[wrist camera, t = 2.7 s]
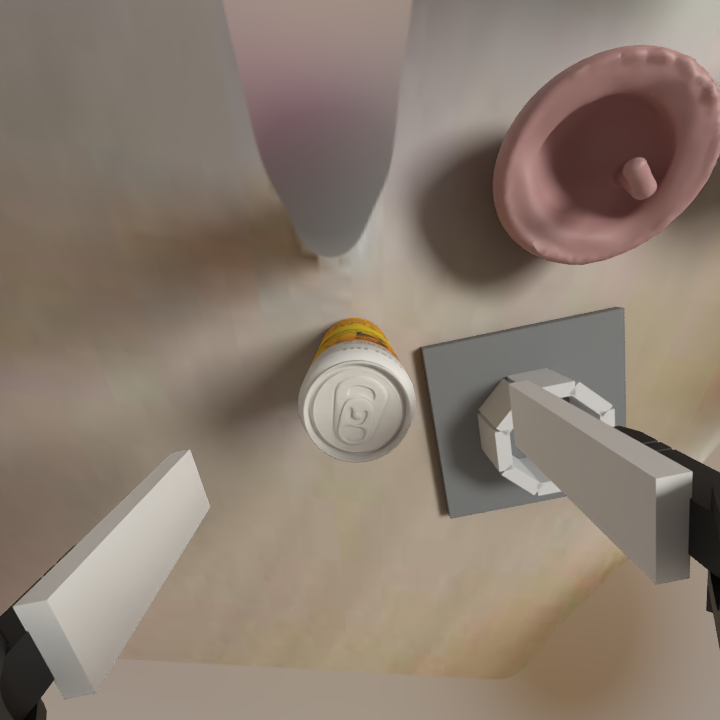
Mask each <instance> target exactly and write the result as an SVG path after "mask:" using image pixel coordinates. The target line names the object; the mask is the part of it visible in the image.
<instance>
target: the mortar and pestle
mask: <svg viewBox="0 0 720 720" xmlns="http://www.w3.org/2000/svg"><path fill="white" fill-rule="evenodd" d="M719 154H720V94H719V91H718V89H717V84H716V83H715V82H714V81H713V79H712V77H711V76H710V74H709V73H708V72H707V71H706V70H705V69H704V68H703V67H701V66H700V65H699V64H698V63H697V61H696V59H694V58H692V57H690V56H688V55H685V54H682V53H679V52H677V51H674V50H671V49H668V48H664V47H658V46H648V45H634V46H625V47H619V48H615V49H611V50H607V51H604V52H600V53H598V54H595V55H593V56H591V57H588V58H586V59H584V60H581V61H580V62H578V63H576V64H574V65H572V66H571V67H569V68H567V69H566V70H564V71H562V72H561V73H559V74H558V75H557V76H555V77H554V78H553V79H551V80H550V81H549V82H548V83H546V84H545V85H544V86H543V87H542V88H541V89H540V90H539V91H538V92H537V93H536V94H535V95H534V96H533V97H532V98H531V99H530V100H529V101H528V102H527V103H526V105H525V106H524V107H523V109H522V110H521V111H520V113H519V114H518V115H517V117H516V118H515V120H514V122H513V123H512V125H511V127H510V128H509V130H508V132H507V134H506V136H505V138H504V140H503V142H502V145H501V148H500V150H499V153H498V156H497V160H496V164H495V168H494V175H493V198H494V204H495V208H496V211H497V214H498V217H499V220H500V222H501V224H502V226H503V227H504V229H505V231H506V232H507V233H508V235H509V236H510V237H511V238H512V239H513V240H514V241H515V242H516V243H517V244H518V245H519V246H520V247H522V248H523V249H524V250H526V251H528V252H529V253H531V254H533V255H535V256H537V257H540V258H542V259H545V260H548V261H552V262H556V263H562V264H569V265H584V264H588V263H593V262H598V261H602V260H606V259H609V258H612V257H615V256H617V255H620V254H622V253H625V252H627V251H629V250H631V249H633V248H635V247H637V246H639V245H641V244H643V243H644V242H646V241H648V240H649V239H651V238H652V237H653V236H655V235H656V234H658V233H659V232H661V231H662V230H663V229H664V228H665V227H666V226H668V225H669V224H670V223H671V222H672V221H673V220H675V219H676V218H677V217H678V216H679V215H680V214H681V213H682V212H683V211H684V210H685V209H686V208H687V207H688V206H689V205H690V203H691V202H692V201H693V200H694V199H695V197H696V196H697V195H698V194H699V191H700V190H701V189H702V188H703V186H704V185H705V183H706V182H707V181H708V179H709V177H710V175H711V173H712V170H713V168H714V166H715V165H716V162H717V159H718V157H719Z"/></svg>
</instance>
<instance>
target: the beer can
mask: <svg viewBox="0 0 720 720" xmlns="http://www.w3.org/2000/svg"><path fill="white" fill-rule="evenodd" d="M298 409H299V415H300V419H301V422H302V424H303V426H304V429H305V430H306V432H307V433H308V435H309V436H310V438H311V440H312V441H313V442H314V443H315V445H316V446H317V447H318V448H319V449H320V450H322V451H323V452H324V453H326V454H327V455H329V456H331V457H333V458H335V459H338V460H341V461H345V462H352V463H360V462H368V461H372V460H376V459H378V458H381V457H383V456H384V455H386V454H388V453H389V452H391V451H392V450H393V449H394V448H395V447H397V446H398V444H399V443H400V442H401V441H402V439H403V438H404V436H405V434H406V433H407V431H408V429H409V427H410V425H411V422H412V420H413V417H414V413H415V393H414V389H413V386H412V383H411V381H410V379H409V377H408V375H407V373H406V372H405V370H404V368H403V366H402V365H401V363H400V361H399V359H398V358H397V356H396V354H395V353H394V351H393V349H392V347H391V346H390V344H389V342H388V340H387V339H386V337H385V335H384V334H383V332H382V331H381V330H380V329H379V328H378V327H377V326H376V325H375V324H373V323H372V322H370V321H368V320H365V319H361V318H348V319H344V320H341V321H339V322H337V323H336V324H334V325H333V326H332V327H331V328H330V329H329V330H328V331H327V332H326V334H325V336H324V338H323V340H322V342H321V344H320V346H319V348H318V351H317V353H316V355H315V357H314V359H313V361H312V363H311V366H310V368H309V370H308V372H307V374H306V376H305V378H304V381H303V383H302V385H301V388H300V392H299V397H298Z"/></svg>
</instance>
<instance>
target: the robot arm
mask: <svg viewBox="0 0 720 720" xmlns="http://www.w3.org/2000/svg"><path fill="white" fill-rule="evenodd" d="M509 392H510V401H511V411H512V420H513V430H514V439H515V446H516V447H517V448H518V449H519V450H520V451H521V452H522V453H523V454H524V455H525V456H526V457H527V458H528V459H529V460H530V461H531V462H533V463H534V464H535V465H536V466H537V467H538V468H539V469H540V470H541V471H542V472H543V473H544V474H545V475H546V476H547V477H548V478H549V479H550V480H551V481H552V482H553V483H554V484H555V485H556V486H557V487H558V488H559V489H560V490H561V491H562V492H563V493H564V494H565V495H566V496H567V497H568V498H569V499H570V500H571V501H572V502H573V503H574V504H575V505H576V506H577V507H578V508H579V509H580V510H581V511H582V512H583V513H584V514H585V515H586V516H587V517H588V518H589V519H590V520H591V521H592V522H593V523H594V524H595V525H596V526H597V527H598V528H599V529H600V530H601V531H602V532H603V533H604V534H605V535H606V536H607V537H608V538H609V539H610V540H611V541H612V542H613V543H614V544H615V545H616V546H617V547H618V548H619V549H620V550H621V551H622V552H623V553H624V554H625V555H626V556H627V557H628V558H629V559H630V560H632V562H633V563H634V564H636V565H637V567H638V568H639V569H640V570H641V571H642V572H644V573H645V574H646V575H647V576H648V577H649V578H650V579H651V580H652V581H653V582H654V583H655V584H656V585H657V584H661V583H667V582H672V581H677V580H683V579H688V578H689V577H690V574H689V573H690V556H692V557H693V558H694V559H695V560H697V561H698V562H699V563H700V564H702V565H703V566H704V567H705V568H707V569H708V585H707V607H706V610H707V611H709V612H712V613H713V615H714V620H715V625H716V631H717V637H718V642H719V647H720V473H719V472H718V471H716V470H714V469H712V468H710V467H708V466H706V465H704V464H702V463H700V462H698V461H696V460H694V459H692V458H690V457H689V456H687V455H685V454H683V453H681V452H679V451H677V450H672V448H671V447H669V446H667V445H665V444H663V443H661V442H659V443H658V441H657V440H656V439H654V438H652V437H650V436H648V435H646V434H644V433H642V432H640V431H637V430H633V429H630V428H626V427H623V426H616V427H612V426H610V425H608V424H606V423H604V422H603V421H601V420H599V419H597V418H595V417H594V416H592V415H590V414H588V413H586V412H585V411H583V410H581V409H579V408H577V407H576V406H574V405H572V404H570V403H568V402H567V401H565V400H563V399H561V398H559V397H558V396H556V395H554V394H552V393H550V392H549V391H547V390H545V389H543V388H541V387H540V386H538V385H536V384H534V383H532V382H531V381H529V380H524V381H519V382H514V383H510V384H509ZM209 508H210V504H209V502H208V499H207V496H206V493H205V490H204V488H203V485H202V482H201V479H200V476H199V474H198V471H197V468H196V465H195V462H194V460H193V457H192V454H191V451H190V449H188V450H183V451H178V452H173V453H171V454H170V455H169V456H168V457H167V458H166V459H165V460H164V461H163V462H162V463H161V464H159V465H158V466H157V467H156V468H155V469H154V470H153V471H152V472H151V473H150V474H149V475H148V476H147V477H146V478H145V479H144V480H143V481H142V482H141V483H140V484H139V485H138V486H137V487H136V488H135V489H134V490H133V491H132V492H131V493H130V494H128V495H127V496H126V497H125V498H124V499H123V500H122V501H121V502H120V503H119V504H118V505H117V506H116V507H115V508H114V509H113V510H112V511H111V512H110V513H109V514H108V515H107V516H106V517H105V518H104V519H103V520H102V521H101V522H100V523H99V524H97V525H96V526H95V527H94V528H93V529H92V530H91V531H90V532H89V533H88V534H87V535H86V536H85V537H84V538H83V539H82V540H81V541H80V542H79V543H78V544H76V545H75V546H73V547H72V548H71V549H70V550H69V551H68V552H67V553H66V554H65V555H64V556H63V557H62V558H61V559H60V560H59V561H58V562H57V564H56V565H53V566H52V567H51V568H50V569H49V570H48V571H47V572H46V573H45V574H44V577H43V578H40V579H39V580H38V581H37V582H36V583H35V584H34V585H33V586H32V587H31V588H30V589H28V590H27V591H26V592H25V593H24V594H23V595H22V596H21V597H20V598H19V599H18V600H17V601H16V602H15V603H14V604H13V605H12V606H11V607H10V608H9V609H8V610H7V611H6V612H5V613H4V614H2V615H1V616H0V720H46V713H47V711H46V708H45V705H44V703H43V701H42V700H41V697H42V696H43V694H44V693H45V691H46V690H47V689H48V687H49V686H50V685H51V683H52V682H53V681H54V682H55V683H56V685H57V687H58V689H59V690H60V692H61V694H62V696H63V698H64V699H68V698H74V697H79V696H84V695H89V694H95V693H96V692H97V691H98V689H99V688H100V686H101V684H102V683H103V681H104V680H105V678H106V676H107V675H108V673H109V671H110V670H111V668H112V667H113V665H114V663H115V662H116V660H117V658H118V657H119V655H120V653H121V652H122V650H123V649H124V647H125V645H126V644H127V642H128V640H129V639H130V637H131V636H132V634H133V632H134V631H135V629H136V627H137V626H138V624H139V623H140V621H141V619H142V618H143V616H144V614H145V613H146V611H147V609H148V608H149V606H150V605H151V603H152V601H153V600H154V598H155V596H156V595H157V593H158V592H159V590H160V588H161V587H162V585H163V583H164V582H165V580H166V579H167V577H168V575H169V574H170V572H171V570H172V569H173V567H174V565H175V564H176V562H177V561H178V559H179V557H180V556H181V554H182V552H183V551H184V549H185V548H186V546H187V544H188V543H189V541H190V539H191V538H192V536H193V535H194V533H195V531H196V530H197V528H198V526H199V525H200V523H201V521H202V520H203V518H204V517H205V515H206V513H207V512H208V510H209Z"/></svg>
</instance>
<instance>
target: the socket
mask: <svg viewBox="0 0 720 720" xmlns="http://www.w3.org/2000/svg"><path fill="white" fill-rule="evenodd" d="M421 353H422V359H423V365H424V371H425V377H426V383H427V389H428V395H429V401H430V407H431V413H432V419H433V425H434V431H435V437H436V443H437V450H438V456H439V462H440V468H441V474H442V480H443V486H444V492H445V498H446V504H447V510H448V514H449V516H450V518H457V517H462V516H467V515H472V514H477V513H482V512H488V511H493V510H498V509H503V508H508V507H514V506H519V505H524V504H529V503H534V502H539V501H545V500H550V499H555V498H560V497H565V496H566V495H565V494H564V493H563V492H562V491H561V490H560V489H559V488H558V487H557V486H556V485H555V484H554V483H553V482H552V481H551V480H550V479H549V478H548V477H547V476H546V475H545V474H544V473H543V472H542V471H541V470H540V469H539V468H538V467H537V466H536V465H535V464H534V463H533V462H531V461H530V460H529V459H528V458H527V457H526V456H525V455H524V454H523V453H522V452H521V451H520V450H519V449H518V448H517V447H516V446H515V439H514V430H513V420H512V411H511V401H510V392H509V384H510V383H514V382H519V381H524V380H529V381H531V382H532V383H534V384H536V385H538V386H540V387H541V388H543V389H545V390H547V391H549V392H550V393H552V394H554V395H556V396H558V397H559V398H561V399H563V400H565V401H567V402H568V403H570V404H572V405H574V406H576V407H577V408H579V409H581V410H583V411H585V412H586V413H588V414H590V415H592V416H594V417H595V418H597V419H599V420H601V421H603V422H604V423H606V424H608V425H610V426H612V427H616V426H623V427H626V390H625V325H624V308H620V307H613V308H608V309H604V310H599V311H594V312H589V313H584V314H579V315H574V316H570V317H565V318H560V319H555V320H550V321H545V322H540V323H536V324H531V325H526V326H521V327H516V328H511V329H507V330H502V331H497V332H492V333H487V334H482V335H477V336H473V337H468V338H463V339H458V340H453V341H448V342H443V343H439V344H434V345H429V346H424V347H421Z"/></svg>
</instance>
